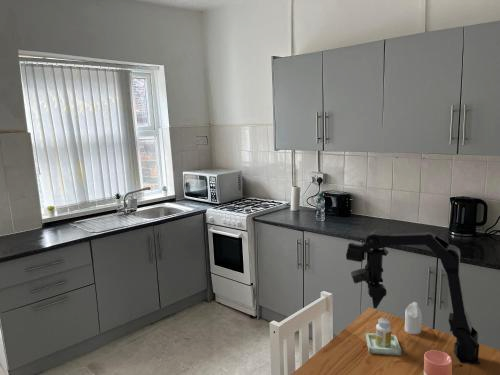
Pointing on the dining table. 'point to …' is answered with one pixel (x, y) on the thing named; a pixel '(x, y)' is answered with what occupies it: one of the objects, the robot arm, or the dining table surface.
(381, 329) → the supplement bottle
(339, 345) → the dining table surface
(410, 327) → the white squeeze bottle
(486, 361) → the dining table surface
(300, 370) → the dining table surface
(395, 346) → the tray
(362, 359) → the dining table surface
